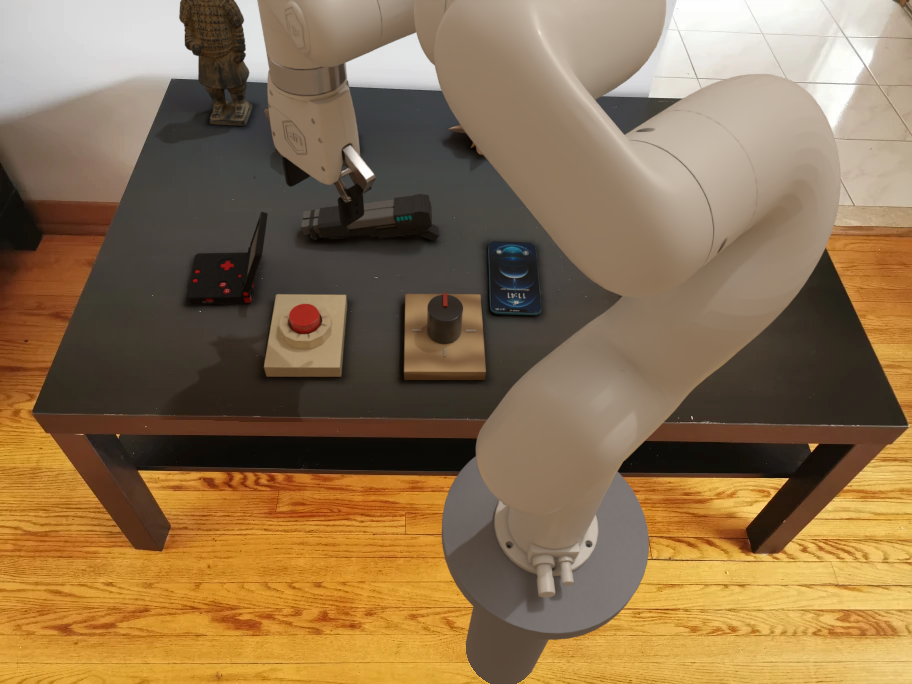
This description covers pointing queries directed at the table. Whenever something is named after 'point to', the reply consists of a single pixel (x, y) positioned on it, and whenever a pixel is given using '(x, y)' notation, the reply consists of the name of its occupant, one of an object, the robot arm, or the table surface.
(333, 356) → the block
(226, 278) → the handheld gaming console
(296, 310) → the press button
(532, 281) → the smartphone
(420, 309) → the dial panel
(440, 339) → the dial
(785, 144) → the robot arm
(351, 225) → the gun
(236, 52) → the statue
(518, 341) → the table surface
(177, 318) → the table surface
